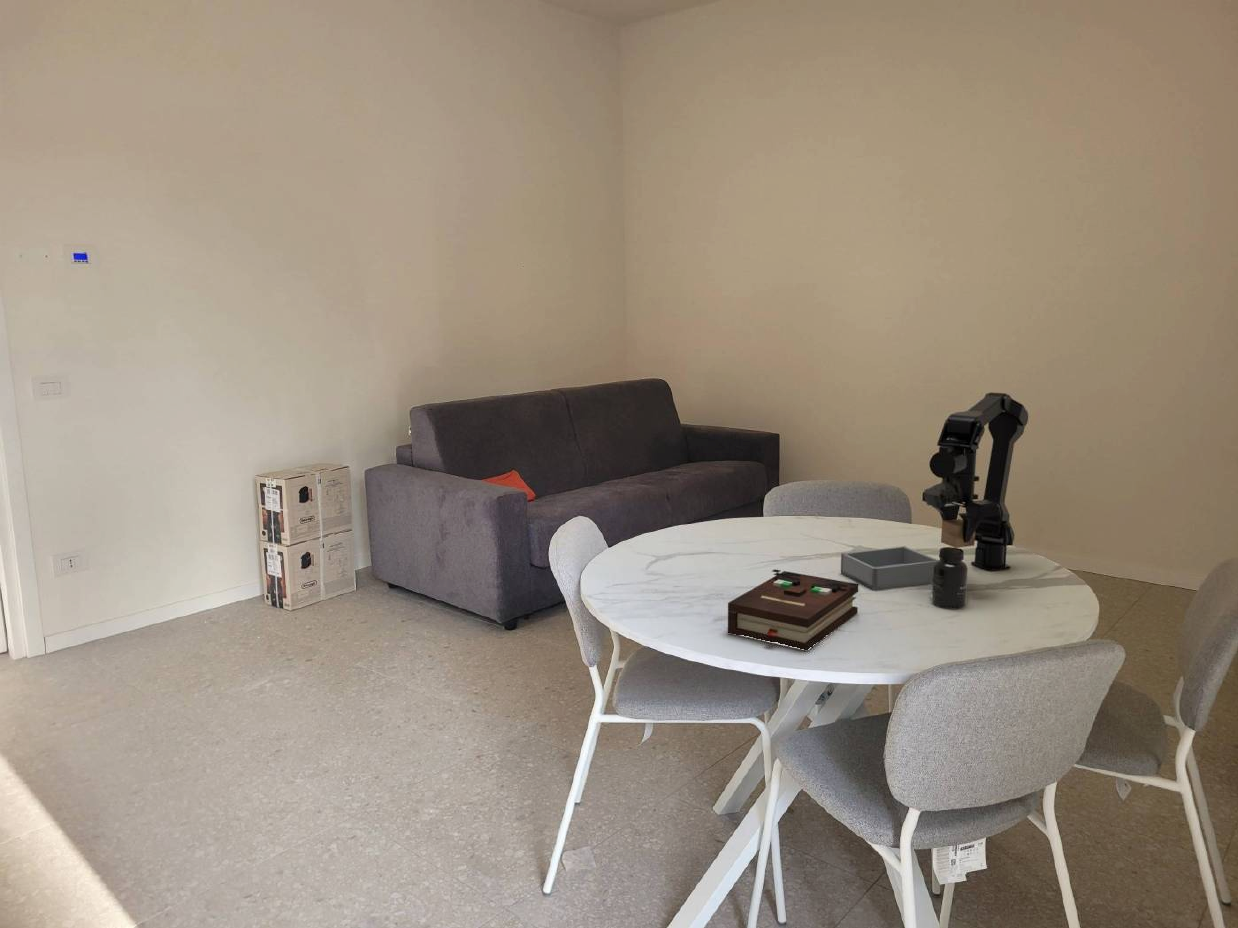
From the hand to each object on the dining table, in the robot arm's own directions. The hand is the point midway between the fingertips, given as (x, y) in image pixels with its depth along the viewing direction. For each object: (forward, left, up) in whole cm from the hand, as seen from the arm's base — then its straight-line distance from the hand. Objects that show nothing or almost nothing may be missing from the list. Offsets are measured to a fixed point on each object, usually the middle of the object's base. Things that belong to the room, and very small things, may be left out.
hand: (957, 539), depth 205 cm
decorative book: (+46, +8, -12) cm, 48 cm away
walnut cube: (0, 0, -1) cm, 1 cm away
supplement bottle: (+9, +10, -11) cm, 17 cm away
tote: (+10, -10, -11) cm, 18 cm away
